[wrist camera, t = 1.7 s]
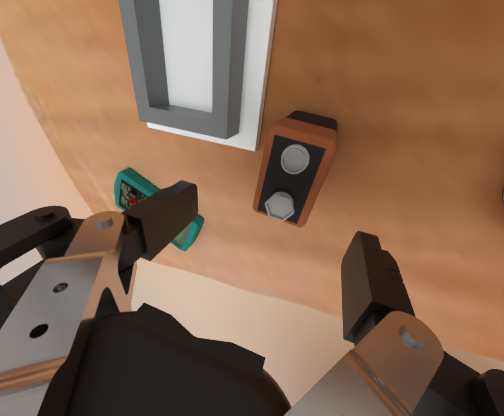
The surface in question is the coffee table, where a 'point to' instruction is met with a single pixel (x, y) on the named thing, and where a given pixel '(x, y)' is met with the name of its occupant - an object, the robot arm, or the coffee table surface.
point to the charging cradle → (201, 65)
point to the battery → (295, 166)
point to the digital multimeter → (137, 189)
